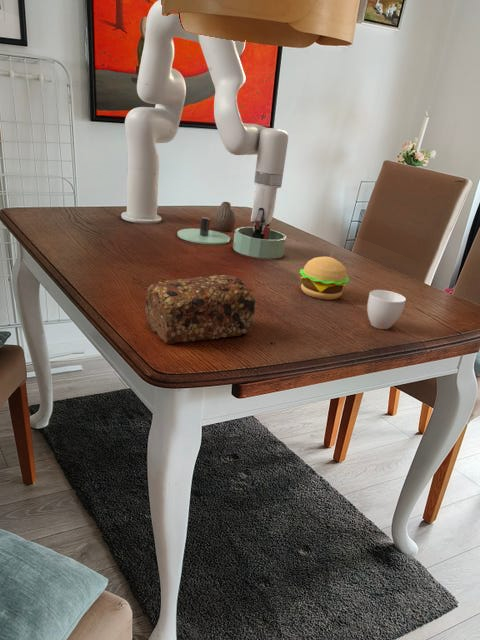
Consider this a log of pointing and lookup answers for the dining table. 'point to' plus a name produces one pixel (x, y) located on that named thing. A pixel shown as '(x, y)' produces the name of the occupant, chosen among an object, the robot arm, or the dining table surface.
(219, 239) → the lid
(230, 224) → the vase
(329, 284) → the hamburger
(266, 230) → the red cylinder
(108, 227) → the dining table surface
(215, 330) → the bread
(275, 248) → the pot
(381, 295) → the cup
